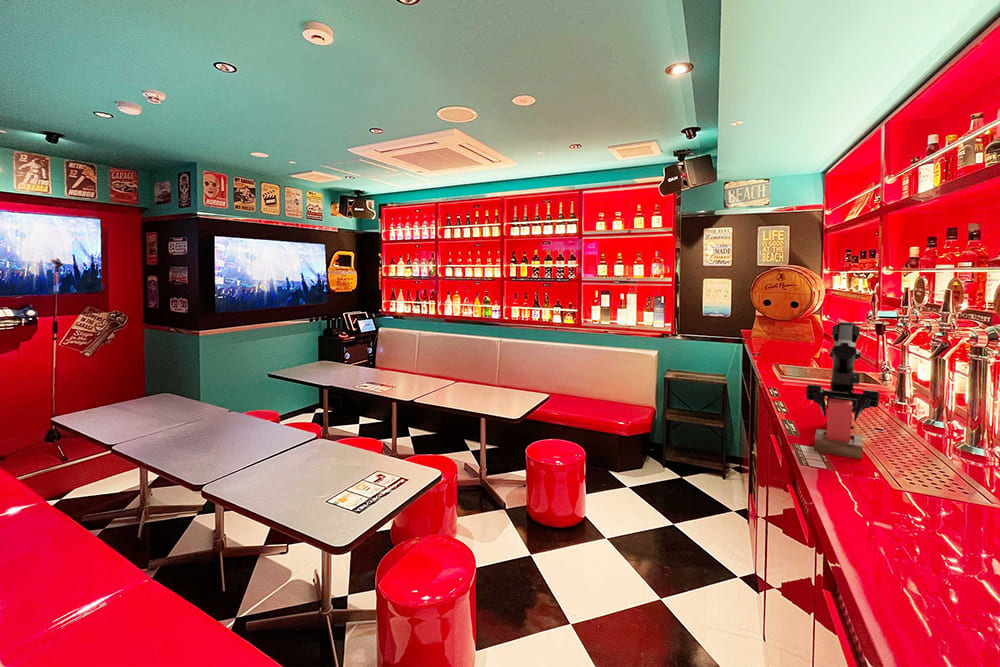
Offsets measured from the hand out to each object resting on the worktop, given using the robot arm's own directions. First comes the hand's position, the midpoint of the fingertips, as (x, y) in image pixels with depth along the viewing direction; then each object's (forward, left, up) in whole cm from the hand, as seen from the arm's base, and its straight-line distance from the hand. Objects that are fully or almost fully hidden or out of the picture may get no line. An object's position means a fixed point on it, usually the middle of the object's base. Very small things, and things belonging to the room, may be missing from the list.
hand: (839, 418), depth 146 cm
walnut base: (-1, +1, -11) cm, 11 cm away
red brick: (-1, +1, -7) cm, 8 cm away
